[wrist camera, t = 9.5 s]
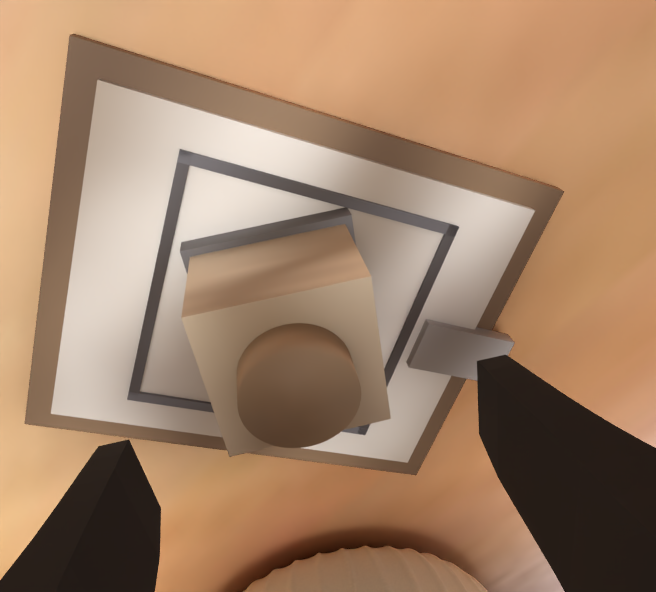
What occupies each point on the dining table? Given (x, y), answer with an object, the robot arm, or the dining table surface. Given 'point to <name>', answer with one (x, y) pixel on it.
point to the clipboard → (249, 211)
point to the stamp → (285, 331)
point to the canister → (369, 573)
